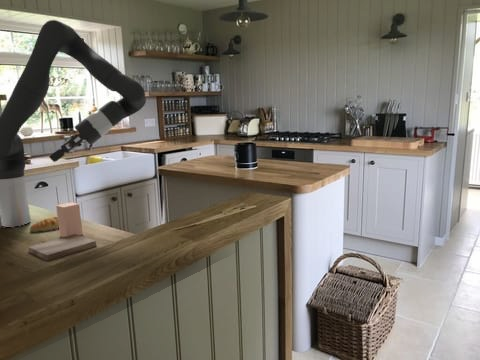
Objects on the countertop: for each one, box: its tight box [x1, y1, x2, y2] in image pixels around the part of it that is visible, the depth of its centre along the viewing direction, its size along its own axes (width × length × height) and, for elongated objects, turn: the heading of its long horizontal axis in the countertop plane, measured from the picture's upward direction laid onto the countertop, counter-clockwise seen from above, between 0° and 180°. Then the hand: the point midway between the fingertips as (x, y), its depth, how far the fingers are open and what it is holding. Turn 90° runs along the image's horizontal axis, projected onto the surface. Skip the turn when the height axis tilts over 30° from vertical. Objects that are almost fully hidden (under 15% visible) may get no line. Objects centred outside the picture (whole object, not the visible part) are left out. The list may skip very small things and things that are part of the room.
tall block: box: [55, 201, 84, 238], centre depth 128 cm, size 5×5×10 cm
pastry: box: [29, 216, 59, 233], centre depth 138 cm, size 9×7×4 cm
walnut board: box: [27, 234, 97, 261], centre depth 116 cm, size 12×14×2 cm
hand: (52, 159), depth 125 cm, fingers open, 8 cm apart
